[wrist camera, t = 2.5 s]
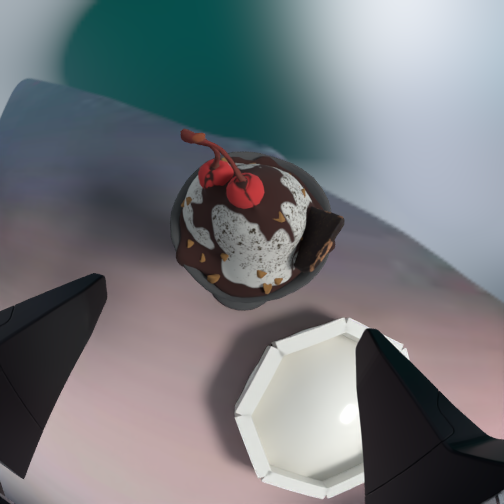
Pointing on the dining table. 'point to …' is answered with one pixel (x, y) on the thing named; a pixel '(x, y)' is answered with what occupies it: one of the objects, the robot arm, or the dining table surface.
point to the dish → (306, 411)
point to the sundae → (251, 226)
